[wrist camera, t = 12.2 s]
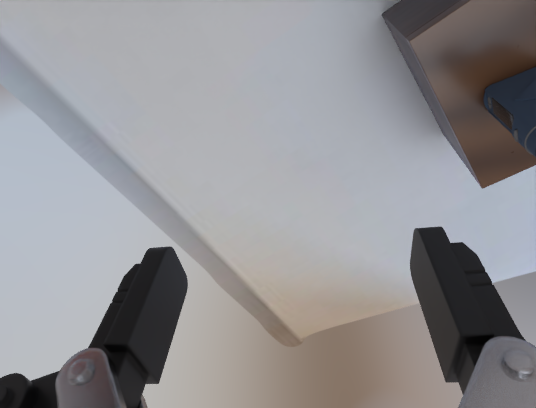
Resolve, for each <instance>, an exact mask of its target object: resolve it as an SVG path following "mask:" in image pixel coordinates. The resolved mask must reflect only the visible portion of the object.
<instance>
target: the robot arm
mask: <svg viewBox="0 0 536 408" xmlns="http://www.w3.org/2000/svg"><path fill="white" fill-rule="evenodd" d="M410 270H411V276H412V280H413V283H414V286H415V289H416V293H417V296H418V299H419V302H420V305H421V307H422V311H423V314H424V317H425V320H426V323H427V326H428V329H429V332H430V335H431V338H432V342H433V344H434V348H435V351H436V354H437V357H438V360H439V363H440V366H441V369H442V372H443V375H444V378H445V381H446V382H459V385H460V387H461V390H462V393H463V397H462V400H461V402H460V404H459V407H458V408H536V347H535V346H533V345H532V344H530V343H528V342H527V341H526V340H525V339H524V338H523V337H522V335H521V334H520V332H519V330H518V329H517V327H516V325H515V323H514V321H513V320H512V318H511V316H510V314H509V312H508V310H507V309H506V307H505V305H504V303H503V301H502V299H501V298H500V296H499V294H498V292H497V290H496V289H495V287H494V285H492V281H491V279H490V278H489V276H488V274H487V273H486V272H485V269H484V267H483V265H482V263H481V261H480V259H479V258H478V256H477V254H476V253H474V252H473V251H472V250H471V249H470V248H468V247H467V246H466V245H465V244H464V243H463V242H460V243H450V241H449V239H448V237H447V235H446V233H445V231H444V229H443V228H442V227H429V228H416V229H415V230H414V234H413V242H412V250H411V259H410ZM187 286H188V283H187V276H186V273H185V271H184V269H183V267H182V265H181V263H180V261H179V259H178V257H177V255H176V253H175V251H174V249H173V248H172V247H158V248H149V249H148V250H147V251H146V253H145V255H144V258H143V260H142V262H141V264H135V265H134V266H133V268H131V269H130V271H129V272H128V273H127V274H126V275H125V276H124V278H123V280H122V282H121V284H120V286H119V288H118V292H116V294H115V296H114V298H113V300H112V301H113V302H112V303H111V304H110V306H109V308H108V310H107V312H106V314H105V316H104V318H103V320H102V322H101V324H100V326H99V328H98V330H97V332H96V334H95V336H94V338H93V340H92V342H91V344H90V346H89V347H88V349H85V350H82V351H80V352H78V353H77V354H75V355H74V356H72V357H71V358H70V359H69V360H68V361H67V362H66V363H65V364H64V365H63V367H62V368H61V370H60V371H58V372H55V373H52V374H49V375H46V376H43V377H41V378H38V379H35V380H32V381H29V380H28V379H27V378H26V377H25V376H23V375H22V374H18V373H14V374H9V375H6V376H4V377H2V378H0V408H147V405H146V402H145V399H144V397H143V395H142V393H143V390H144V387H145V384H158V383H159V381H160V378H161V374H162V371H163V368H164V365H165V362H166V358H167V355H168V352H169V348H170V345H171V342H172V339H173V335H174V332H175V329H176V325H177V322H178V319H179V315H180V312H181V309H182V305H183V303H184V299H185V296H186V293H187Z"/></svg>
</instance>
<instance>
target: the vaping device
mask: <svg viewBox="0 0 536 408" xmlns="http://www.w3.org/2000/svg"><path fill="white" fill-rule="evenodd" d="M483 101H484V105H485V107H486V108H487V109H488V112H489V113H490V114H491V115H492V116H493V117H494V118H496V119H497V120H498V121H499V122H500V123H501V124H502V125H503V126H504V127H505V128H506V129H507V130H508V131H509V132H510V133H511V134H512V136H513V137H514V139H515V141H516V142H518V143H519V144H521V145H522V146H523V147H524V148H525V149H526V151H527V152H528V153H530V154H532V155H534V156H535V157H536V67H534V68H532V69H529V70H527V71H524V72H522V73H519V74H517V75H514V76H512V77H509V78H507V79H504V80H502V81H499V82H497V83H494V84H492V85H490V86H488V87H487V88H486V89H485V93H484V97H483Z"/></svg>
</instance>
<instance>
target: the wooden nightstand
mask: <svg viewBox="0 0 536 408" xmlns="http://www.w3.org/2000/svg"><path fill="white" fill-rule="evenodd" d="M382 16H383V18H384V20H385V22H386V24H387V26H388V28H389V30H390V32H391V34H392V36H393V38H394V40H395V42H396V43H397V45H398V47H399V49H400V51H401V53H402V55H403V57H404V59H405V61H406V63H407V65H408V67H409V69H410V71H411V72H412V74H413V76H414V78H415V80H416V82H417V84H418V86H419V88H420V90H421V92H422V94H423V96H424V98H425V100H426V101H427V103H428V105H429V107H430V109H431V111H432V113H433V115H434V117H435V119H436V121H437V123H438V125H439V127H440V129H441V130H442V132H443V134H444V136H445V137H446V139H447V140H448V141H449V143H450V144H451V146H452V147H453V148H454V150H455V151H456V153H457V154H458V155H459V157H460V158H461V160H462V161H463V162H464V164H465V165H466V167H467V168H468V169H469V171H470V172H471V174H472V175H473V176H474V178H475V179H476V181H477V182H478V184H479V185H480V186H481V188H485V187H487V186H489V185H492V184H494V183H496V182H498V181H501V180H503V179H505V178H508V177H510V176H512V175H514V174H517V173H519V172H521V171H523V170H526V169H528V168H530V167H532V166H535V165H536V157H535V156H534V155H532V154H530V153H528V152H527V151H526V149H525V148H524V147H523V146H522V145H521V144H519V143H518V142H516V141H515V139H514V137H513V136H512V134H511V133H510V132H509V131H508V130H507V129H506V128H505V127H504V126H503V125H502V124H501V123H500V122H499V121H498V120H497V119H496V118H494V117H493V116H492V115H491V114H490V113H489V112H488V109H487V108H486V107H485V105H484V101H483V97H484V93H485V89H486V88H487V87H488V86H490V85H492V84H494V83H497V82H499V81H502V80H504V79H507V78H509V77H512V76H514V75H517V74H519V73H522V72H524V71H527V70H529V69H532V68H534V67H536V0H401V1H400V2H398V3H397V4H395V5H394V6H393V7H391V8H390V9H389V10H387V11H386V12H385V13H383V14H382Z"/></svg>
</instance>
